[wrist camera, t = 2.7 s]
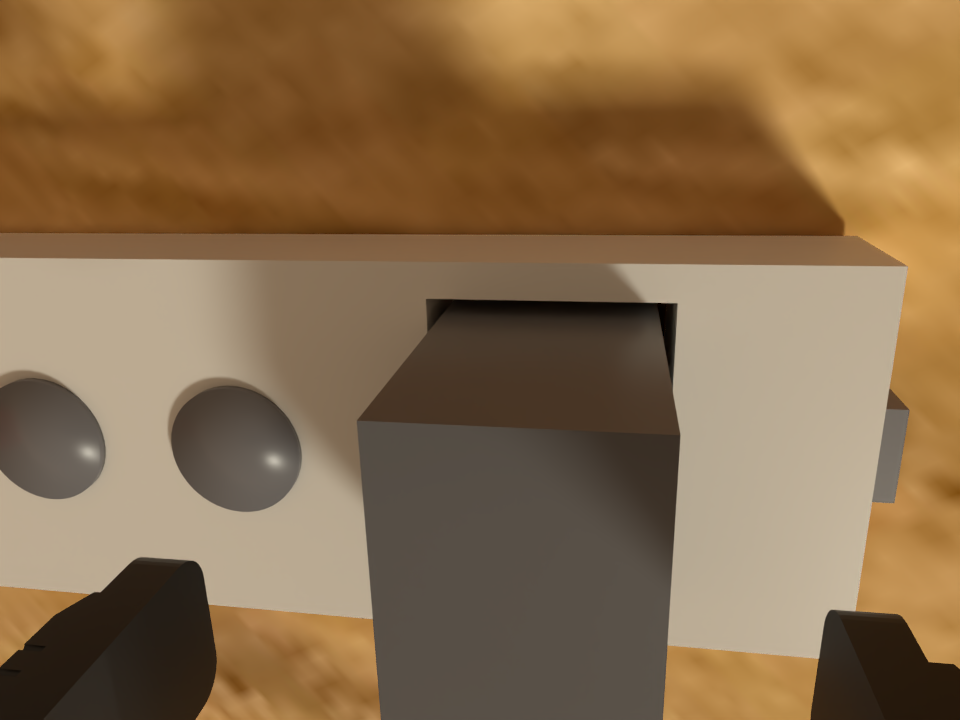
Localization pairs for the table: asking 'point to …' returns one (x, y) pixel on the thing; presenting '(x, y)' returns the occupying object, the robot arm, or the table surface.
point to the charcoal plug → (523, 515)
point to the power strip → (370, 365)
